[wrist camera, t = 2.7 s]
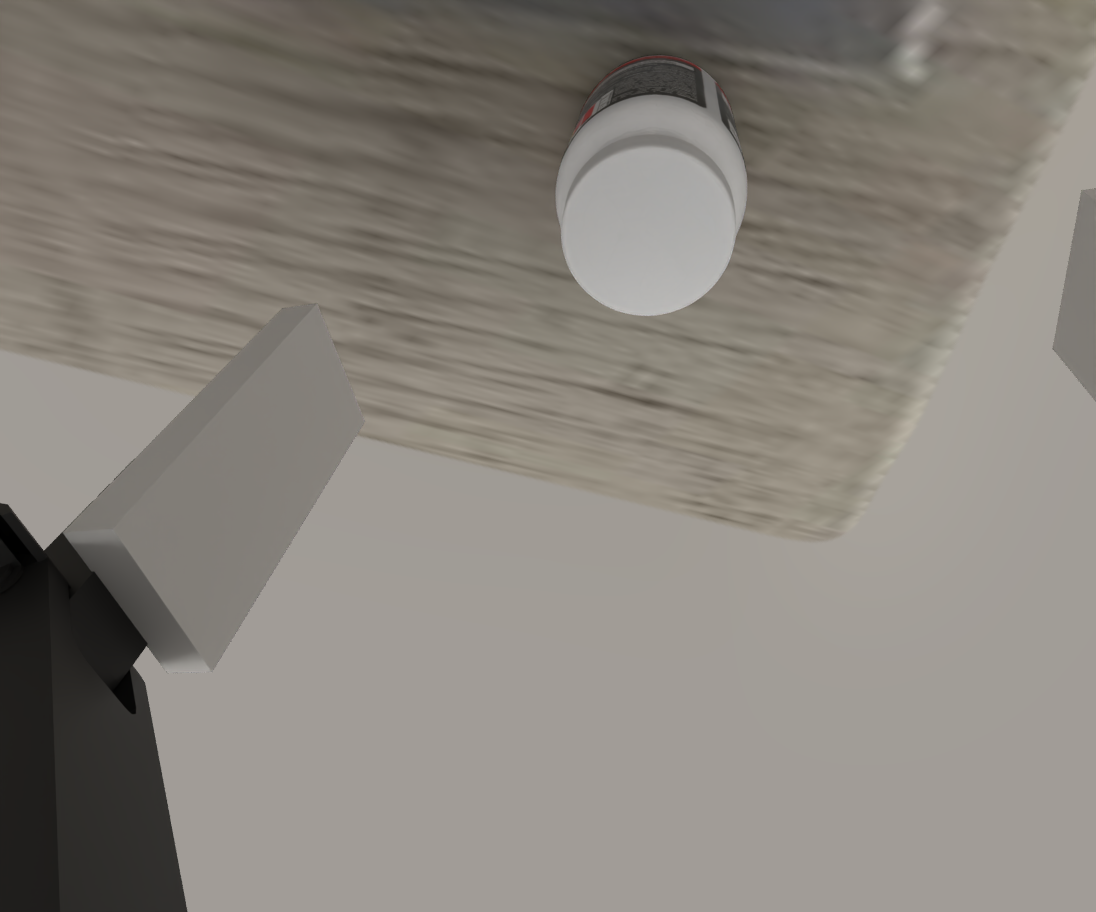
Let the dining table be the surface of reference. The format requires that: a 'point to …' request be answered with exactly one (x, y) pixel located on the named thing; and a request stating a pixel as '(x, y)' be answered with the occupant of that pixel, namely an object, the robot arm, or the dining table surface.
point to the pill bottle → (651, 187)
